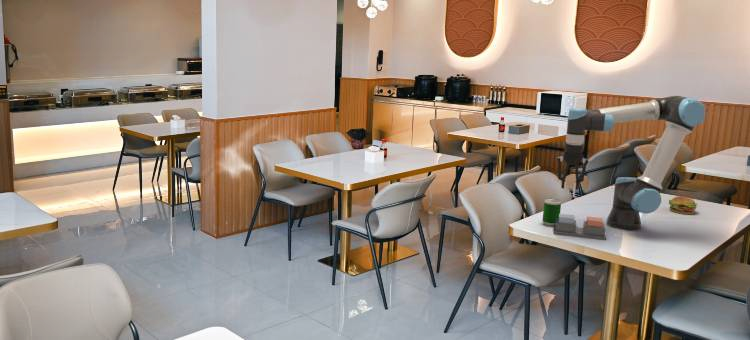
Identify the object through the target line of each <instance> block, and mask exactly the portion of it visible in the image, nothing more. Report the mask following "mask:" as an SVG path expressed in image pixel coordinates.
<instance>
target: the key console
mask: <svg viewBox="0 0 750 340" xmlns="http://www.w3.org/2000/svg"><path fill="white" fill-rule="evenodd" d="M586 221H587V220H583V225H582V227H579V226H578V227H577V220H576V219H574V224H567V223H559V218H556V224H555V225H554V226H552V227H553V229H552V233H553V235H557V236H564V237H573V238H582V239H583V238H584V239H592V240H599V241H600V240H601V241H606V240H607V234H606V227H605V223H604V222H603V227H594V226H587V224H586Z"/></svg>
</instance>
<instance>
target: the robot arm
mask: <svg viewBox="0 0 750 340" xmlns="http://www.w3.org/2000/svg"><path fill="white" fill-rule="evenodd" d="M706 114H707V113H706V109H705V105H704V103H703V102H702V101H700V100H699V99H696V98H693V97H687V96H681V95H670V96H667V97H660V98H656V99H655V98H654V99H651V100H650V101H647V102H643V103H641V102H640V103H635V104H634V103H633V104H627V105H625V104H624V105H620V106H611V107H604V108H597V109H587V108H584V107H583V108H582V107H571V108H570V109H569V111H568V114H567V115H568V116H567V124H566V126H567V127H566V134H565V142H566V143H565V144H564V153H563V154H562V156H557V158H556V159H557V163H558V165H557V166H558V167H557V168H558V170H557V171H558V172H557V179H558V180H559V181H560V182H561V186H560V187H561V189H563V192H562V193H563V194H562V196H563V197H566V191H567V180H566V178H567V176H568V171H569V169H570V166H572V165H573V166H574V169H575V170H574V172H575V173H574V174H575V181H573V189H572V198H575V197H576V191H578V190H579V187H580V186H579V184H580V183H582V182H584V180H585V175H586V169H587V165H588V163H589V162H590V161H589V159H588V158H587V159H586V157H585V158H584V155H583V151H584V145H583V144H584V143H585V133H586V131H587V132H589V131H590V132H591V131H593V132H611V131H612V130H613V128H614V125H615V124H621V123H628V122H636V121H645V120H653V121H665V122H664V123H665V126H666V127H665V129H664V131H663V132H662V136H661V138H660V140H659V141H658V144H657V145H656V147H655V149H654V151H653V153H652V156H651V157H650V158H649V159H650V160H649V161H648V163H647V165H646V167H645V169H644V171H643V173H642V175H640V176H638V177H630V176H629V177H628V176H627V177H626V176H624V177H623V176H621V177H617V178H616V180H615V183H614V190H613V191H614V193H613V199H612V202H613V203H612V207H611V210H610V212H609V214H608V217H607V219H606V225H608V226H610V227H612V228H614V229H615V228H617V229H620V230H628V231H629V230H631V231H632V230H633V231H636V230H640V229H641V227H642V221H641V217H640V214H646V215H647V214H651V213H653V212H656V211H657V209H659V207H660V205H662V196H661V193H662V191H663V186H662V183H663V181H664V178H665V177H666V175H667V173H668V171H669V170H670V168H671V165H672V163H673V161H674V159H675V157H676V155H677V153H678V151H679V150H680V147H682V144H683V142H684V140H685V137H686V135H689V134H691V133H692V132H693V130H694V128H695V127H697V126H699V125H701V124H702V123H703V122H704V120H705V117H706ZM563 159H564V161H565V162H566V164H565V168H564V171H563V173H562V162H563ZM581 162H582V167H581V168H582V169H581V174H580V177H579V164H580V163H581ZM562 175H563V176H562Z"/></svg>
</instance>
